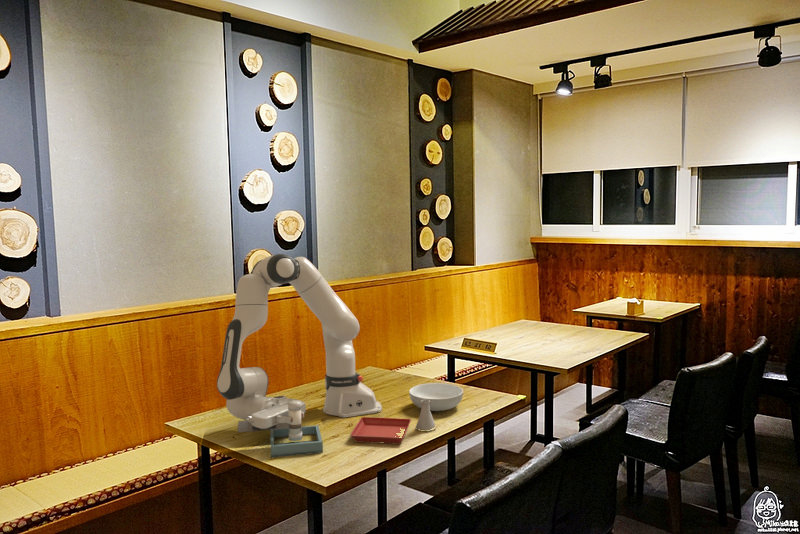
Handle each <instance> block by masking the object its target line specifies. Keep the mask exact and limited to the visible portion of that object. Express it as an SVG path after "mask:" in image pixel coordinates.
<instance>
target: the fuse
mask: <svg viewBox="0 0 800 534" xmlns="http://www.w3.org/2000/svg"><path fill="white" fill-rule="evenodd" d="M299 400H300V399H296V400H293V401H289V402H288V411H289V416H290V417H293V422H291V423H289V436H288V440H289V441H291V442H299V441H302V439H303V435H302V427H303V425H302V418H301V408H302V406H301V401H302V400H300V401H299Z"/></svg>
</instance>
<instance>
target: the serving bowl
mask: <svg viewBox="0 0 800 534" xmlns="http://www.w3.org/2000/svg"><path fill="white" fill-rule="evenodd" d="M408 393H409V398H410V400H411V402H412V403H413V404H414V405H415V406H416V407H418V408H420V409H421V408H422V403H421V400H430V403H429V407H430V410H431V411H430V412H442V410H443V411H446V410H451V409H454V408H455V407H457V406H459V404H460V403H461V401H462V399H463V397H464V389H463V388H462V387H461V386H458V385H455V384H451V383H443V382H428V383H422V384H417V385H414V386H413V387H411V388H410V389H409V391H408Z"/></svg>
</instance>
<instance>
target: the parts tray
mask: <svg viewBox="0 0 800 534" xmlns="http://www.w3.org/2000/svg"><path fill="white" fill-rule="evenodd" d="M269 431H270V432H269V433H270V434H269V435H270V458H271V459H272V457H273V458H283V457H292V456H293V457H294V456H301V455H302V456H303V455H314V454H323V453H324V449H323V448H324V444H323V439H322V434H321V430H320V426H319V425H317V424H315V425H305V426H304V425H302V436H305V435H306V436H307V435H315V437H316V439H315V440H313V439H312V440H306V441H305V440H303V441H302V440H300V441H291V442H290V441H289V442H282V443H279V442H278V443H275V438H284V437H289V428H280V429H270V430H269Z"/></svg>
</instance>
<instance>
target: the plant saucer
mask: <svg viewBox="0 0 800 534" xmlns="http://www.w3.org/2000/svg"><path fill="white" fill-rule="evenodd" d="M411 422H412V419H411V418H394V417H374V416H373V417H371V416H362V417H360V419H359V420H358V422H357V424H356V425H355V426H354V428H353V430H352V431H351V433H350V434H349V436H350V437H351V438H352V439H353V440H354V442H356V441H357V442H356V443H371V442H384V443H383V444H392V443H399V444H401V443H400V442H403V440H404V439H405V436H406V433H407V431H408V428H409V426H410V424H411ZM400 428H401V429H405V431H404V434H403V436H402V438H399V437H400V436H398V435H397V434H396V433H401V432H400V431H401V430H400ZM395 436H396V437H395Z"/></svg>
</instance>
